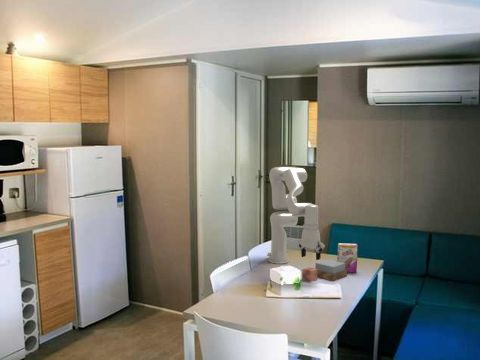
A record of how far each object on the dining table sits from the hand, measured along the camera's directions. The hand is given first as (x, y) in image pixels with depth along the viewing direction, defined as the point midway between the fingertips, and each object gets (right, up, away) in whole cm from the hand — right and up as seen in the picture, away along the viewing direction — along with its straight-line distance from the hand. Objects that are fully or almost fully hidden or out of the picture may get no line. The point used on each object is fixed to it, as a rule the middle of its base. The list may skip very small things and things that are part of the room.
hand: (310, 258), depth 258 cm
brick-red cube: (0, -12, +2) cm, 12 cm away
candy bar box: (+24, -11, +18) cm, 32 cm away
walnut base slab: (+12, -12, +9) cm, 19 cm away
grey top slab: (+12, -8, +9) cm, 17 cm away
